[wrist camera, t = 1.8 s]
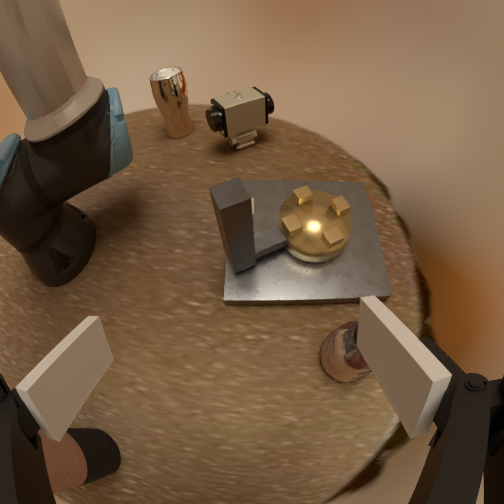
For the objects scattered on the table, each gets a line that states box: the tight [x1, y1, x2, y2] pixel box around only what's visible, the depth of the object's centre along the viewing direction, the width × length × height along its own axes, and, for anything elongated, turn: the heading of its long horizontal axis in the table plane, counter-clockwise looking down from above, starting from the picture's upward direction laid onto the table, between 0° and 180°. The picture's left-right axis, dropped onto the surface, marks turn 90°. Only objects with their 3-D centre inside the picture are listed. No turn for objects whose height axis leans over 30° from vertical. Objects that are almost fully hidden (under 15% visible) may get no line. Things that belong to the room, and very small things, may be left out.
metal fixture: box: [209, 177, 353, 273], centre depth 32 cm, size 18×10×13 cm, turn 114°
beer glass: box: [149, 67, 193, 139], centre depth 49 cm, size 7×7×15 cm
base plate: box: [224, 181, 391, 305], centre depth 39 cm, size 22×20×2 cm
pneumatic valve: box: [206, 87, 274, 150], centre depth 47 cm, size 6×12×12 cm, turn 119°
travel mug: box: [38, 428, 121, 493], centre depth 17 cm, size 8×8×20 cm
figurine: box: [320, 321, 371, 382], centre depth 27 cm, size 7×7×12 cm
